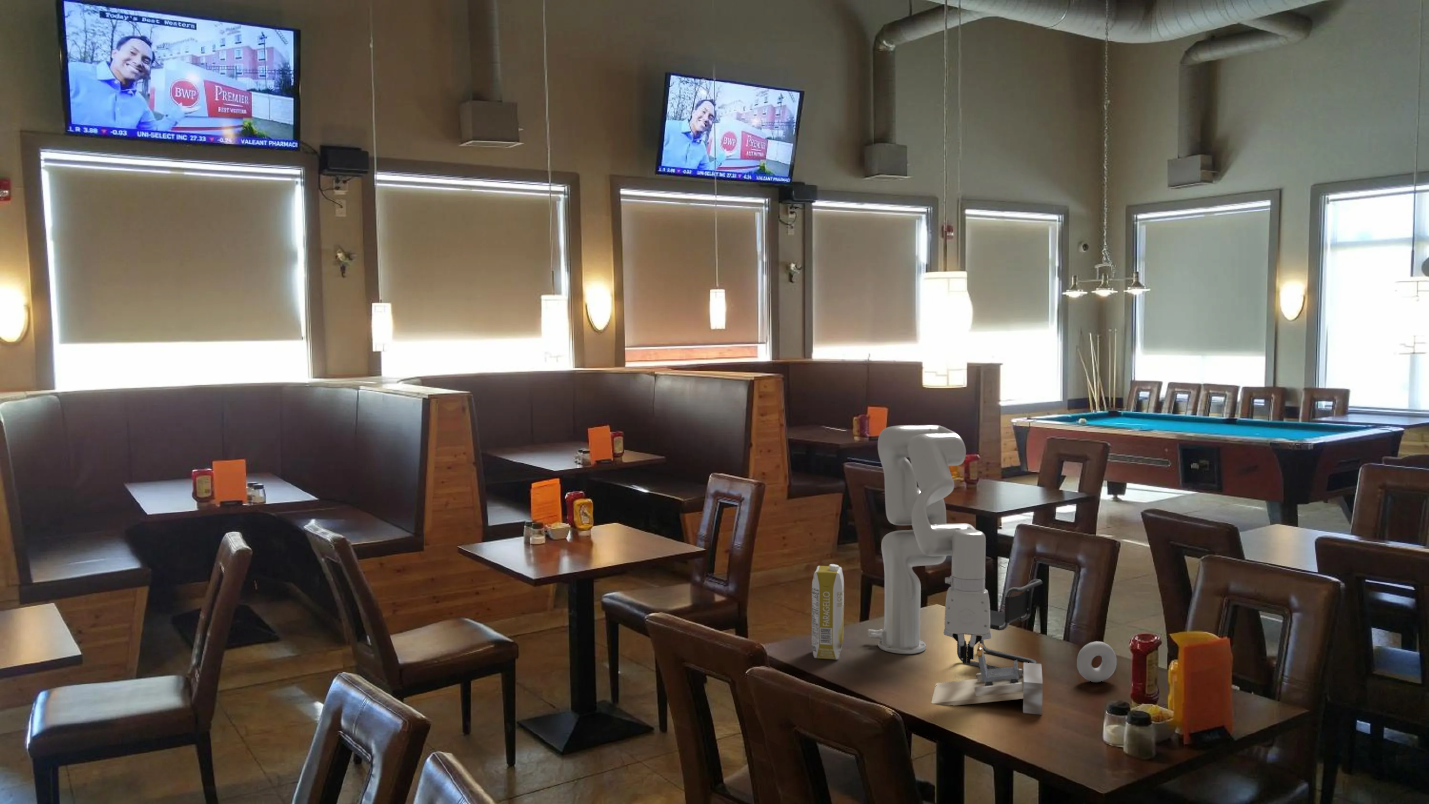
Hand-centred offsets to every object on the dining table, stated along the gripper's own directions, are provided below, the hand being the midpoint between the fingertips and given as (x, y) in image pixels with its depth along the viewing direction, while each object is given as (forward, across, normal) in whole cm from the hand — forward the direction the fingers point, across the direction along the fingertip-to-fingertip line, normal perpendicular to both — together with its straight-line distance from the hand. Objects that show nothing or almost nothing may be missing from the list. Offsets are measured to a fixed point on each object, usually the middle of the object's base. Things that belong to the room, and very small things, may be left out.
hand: (966, 661), depth 233 cm
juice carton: (+8, -36, +21) cm, 43 cm away
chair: (+8, +7, +27) cm, 29 cm away
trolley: (+5, +7, 0) cm, 9 cm away
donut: (+8, +30, +19) cm, 36 cm away
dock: (+9, +5, 0) cm, 10 cm away
